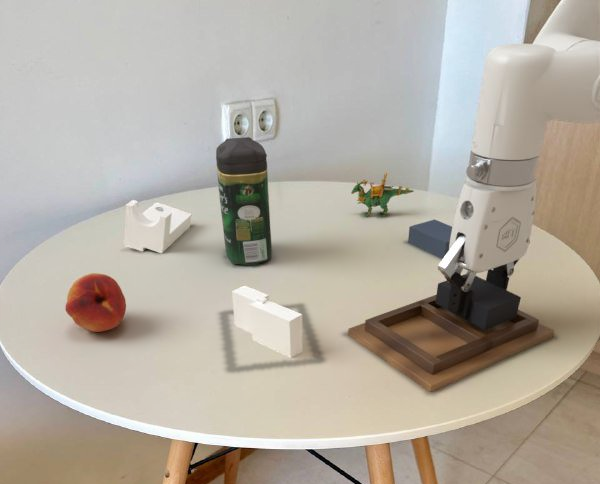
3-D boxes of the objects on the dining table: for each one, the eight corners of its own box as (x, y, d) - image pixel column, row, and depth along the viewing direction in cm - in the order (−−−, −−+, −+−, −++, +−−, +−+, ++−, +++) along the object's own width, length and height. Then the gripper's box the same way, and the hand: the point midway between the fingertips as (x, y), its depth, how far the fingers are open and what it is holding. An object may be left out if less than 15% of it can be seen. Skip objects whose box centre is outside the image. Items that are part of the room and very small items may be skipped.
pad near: (434, 303, 81) (437, 283, 80) (466, 292, 84) (469, 272, 82) (484, 330, 75) (488, 309, 73) (516, 317, 78) (521, 296, 76)
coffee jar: (223, 246, 105) (212, 135, 94) (267, 243, 106) (261, 132, 95) (227, 269, 97) (216, 150, 86) (275, 265, 98) (269, 147, 87)
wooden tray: (347, 335, 80) (348, 318, 78) (464, 292, 89) (466, 277, 88) (430, 392, 69) (432, 375, 68) (552, 337, 79) (557, 320, 77)
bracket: (161, 258, 104) (165, 218, 99) (123, 245, 104) (125, 204, 99) (189, 231, 114) (194, 193, 109) (155, 219, 114) (158, 181, 109)
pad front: (407, 242, 105) (409, 226, 103) (432, 235, 108) (434, 219, 106) (443, 259, 99) (446, 242, 97) (469, 251, 102) (472, 234, 100)
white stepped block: (321, 360, 75) (321, 320, 71) (231, 370, 73) (227, 330, 70) (299, 305, 87) (299, 269, 83) (222, 313, 85) (218, 276, 82)
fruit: (69, 346, 79) (53, 291, 74) (75, 317, 85) (61, 265, 80) (130, 339, 80) (118, 285, 75) (131, 311, 86) (120, 259, 81)
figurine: (350, 212, 118) (351, 170, 113) (410, 212, 117) (415, 170, 112) (350, 218, 115) (352, 175, 110) (412, 218, 115) (416, 175, 110)
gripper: (473, 190, 62) (449, 338, 73) (576, 164, 70) (540, 301, 81) (423, 173, 67) (408, 314, 78) (525, 150, 75) (498, 281, 86)
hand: (475, 306), depth 79 cm, fingers closed on pad near, 6 cm apart
